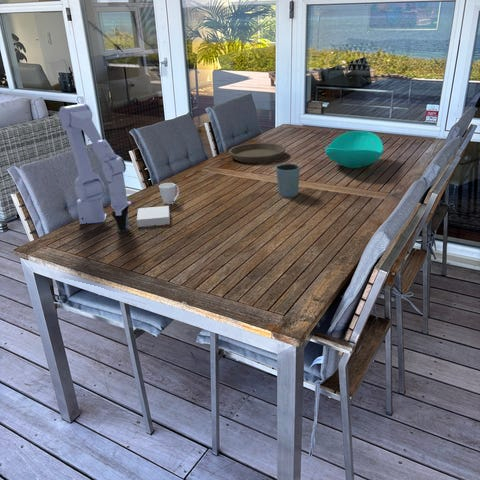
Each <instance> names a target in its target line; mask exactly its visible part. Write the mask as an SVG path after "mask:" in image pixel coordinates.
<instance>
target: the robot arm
mask: <svg viewBox="0 0 480 480" xmlns="http://www.w3.org/2000/svg"><path fill="white" fill-rule="evenodd" d="M58 111H59V112H58V116H59V117H58V118H59V121H60V124H61V128H62V130H63V131H66V135H67V139H68V141H69V145H70V149H71V152H72V154H73V155H72V156H73V158H74V162H75V165H76V169H77V172H78V176H77V178H75V180H74V181H73V182H74V191H75V194H76V197H77V198H78V199H77V200H76V210H77V214H78V220H79V224H80V225H83V224H84V225H86V223H87V224H99V223H105V221H106V219H107V213H105V212H104V205H103V199H102V197H104V195H103V194H104V193H105V190H106V187H105V184H104V182H103V180H102V178H101V176H100V174H98V173H96V172H94V171H93V168H92V164H91V161H90V158H89V154H88V151H87V150H88V149H87V147H86V143H85V140H84V135H83V133H84V134H85V135H86V137H87V138H88V140H89V141H90V142H91V143H92V144H93V145H92V150H93V152H94V153H95V155H96V157H97V158H98V161H99V162H100V163H101V170H102V173H103V175H104V177H105V180H106V181H107V185H108V191H109V197H110V198H109V199H110V201H111V202H110V206H111V208H112V209H113V210H114V211H112V212H111V216H112V217H113V218H114V220H115V223H116V222H117V224H118V227H119V229H120V230H125V229H126V216H127V214H128V213H129V211H128V210H129V207H130V206H131V205H132V201H128V196H127V190H126V182H125V177H124V173H125V172H126V170H127V167H126V163H125V160H124V159H123V158H122V157H121V156H120V155H118V154H116V153H115V151H114V150H113V148H112V147H111V146H110V144H109V142H108V141H107V140H105V139H103V138H102V137H101V134H100V133H99V130H98V129H97V127H96V125H95V123H94V121H93V112H92V109H91V107H90V105H88V104H87V103H85V102H81V103H79V104H78V103H77V104H72V105H67V106H60V108H59V110H58ZM82 132H83V133H82ZM117 224H116V225H117Z"/></svg>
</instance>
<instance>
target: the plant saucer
mask: <svg viewBox="0 0 480 480" xmlns="http://www.w3.org/2000/svg"><path fill="white" fill-rule="evenodd" d="M285 152H286V147H285V146H284V145H282V144H277V143H272V142H254V143H244V144H240V145H237V146H232V148H230V149H229V150H228V153H229V155H230V156H231V157H232V158H233V159H234V160H235V161H236V160H237V162H239V161H240V163H244V162H245V163H246V164H262V163H263V164H264V163H271V162H273V161H274V162H275V161H277V160H279V159H281V157H282V156H283V155H284V154H285ZM270 161H271V162H270ZM245 163H244V164H245Z"/></svg>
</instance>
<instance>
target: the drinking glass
mask: <svg viewBox="0 0 480 480" xmlns="http://www.w3.org/2000/svg"><path fill="white" fill-rule="evenodd" d="M300 169H301V167H300V165H299V164H295V163H283V164H282V163H281V164H279V165H276V167H275V172H276V180H277V182H276V183H277V192H278V193H277V194H278V195H279V196H281V197H284V198H285V197H286V198H292V197H296V196H298V195H299V191H300V190H299V185H300V172H301V171H300Z"/></svg>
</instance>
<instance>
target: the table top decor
mask: <svg viewBox="0 0 480 480" xmlns="http://www.w3.org/2000/svg"><path fill="white" fill-rule="evenodd" d="M383 143H384V142H383V141H382V140H381V138H380V137H379V135H377V134H376V133H374V132H370V131H365V130H363V131H362V130H355V131H353V130H352V131H347V132H345V133H342V134H340V135H339V136H337V137H336V138H334V139H333V141H331V142H330V144H329V145H328V146H326V148H325V149H324V152H325V154H326V156H327V157H328V159H330V160H331V161H333V162H334V163H336V164H338V165H341V166H343V167H346V168H349V169H359V168H361V167H362V168H363V167H366V166H369V165H371V164H373V163H374V162H376V161H377V160H379V159H380V157H381V156H382V155H383V153H384V144H383Z"/></svg>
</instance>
